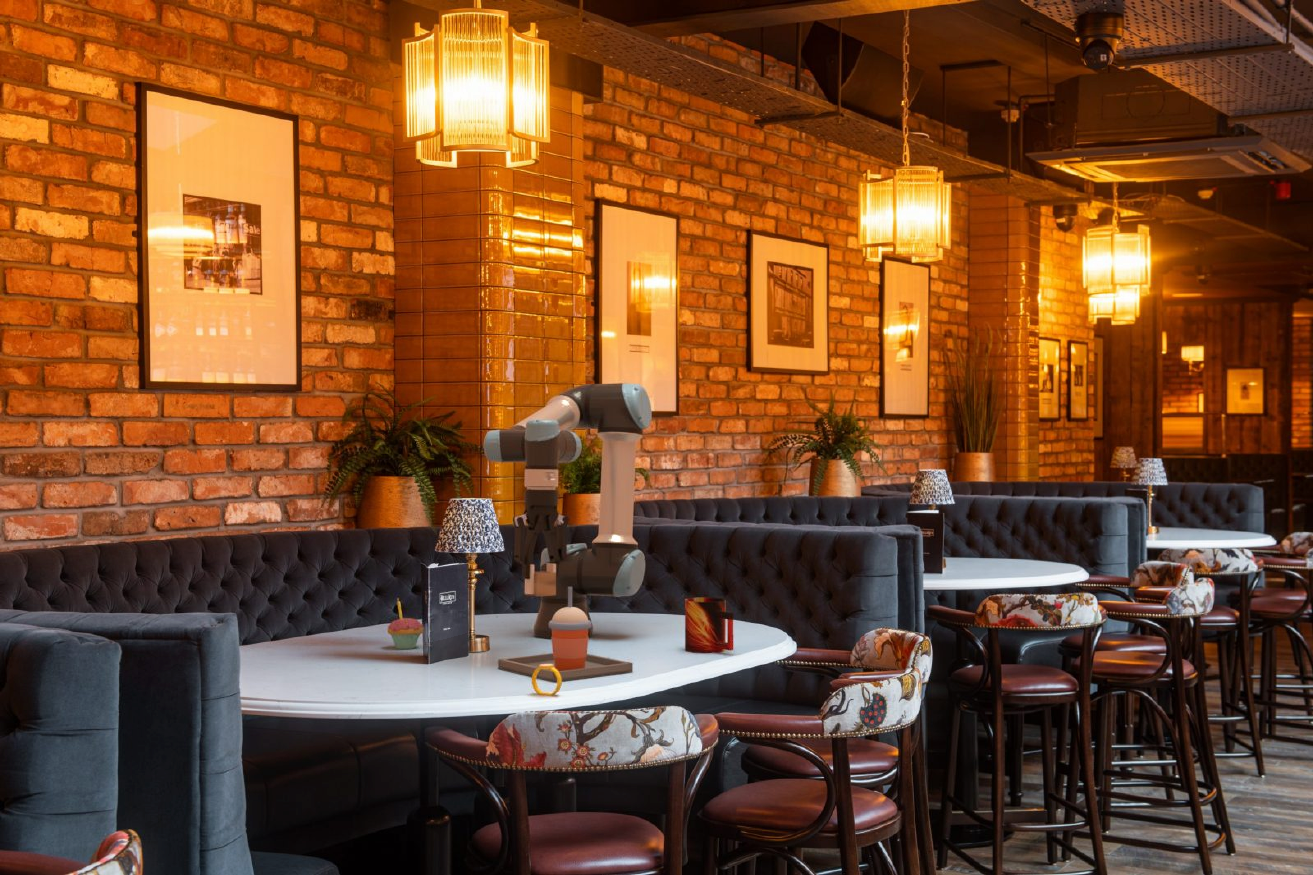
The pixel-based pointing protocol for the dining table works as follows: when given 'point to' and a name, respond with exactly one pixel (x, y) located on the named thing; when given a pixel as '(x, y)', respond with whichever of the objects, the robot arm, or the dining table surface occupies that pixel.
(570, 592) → the cup with straw
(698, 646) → the mug
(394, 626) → the cupcake
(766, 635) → the dining table surface
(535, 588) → the walnut block
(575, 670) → the tray
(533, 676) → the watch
